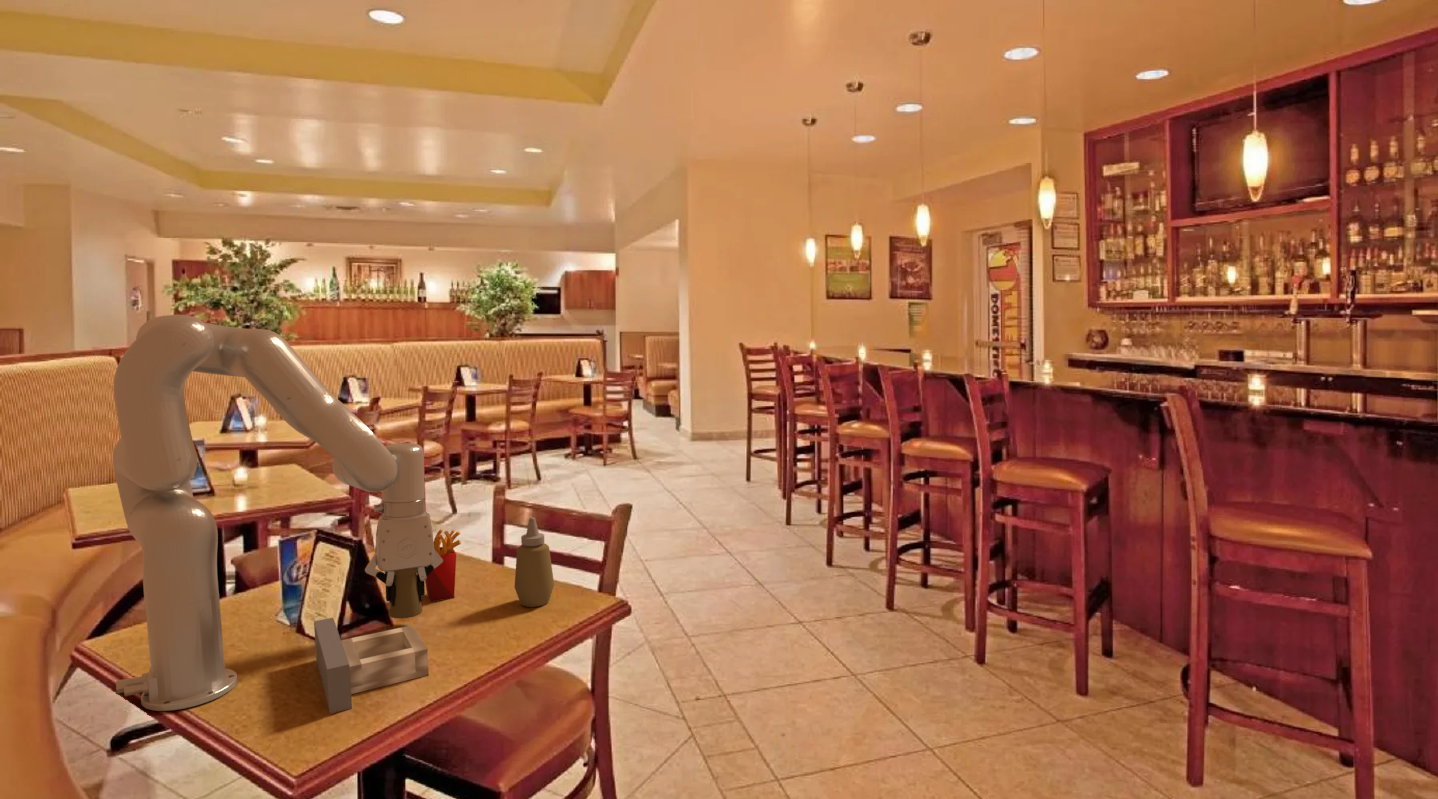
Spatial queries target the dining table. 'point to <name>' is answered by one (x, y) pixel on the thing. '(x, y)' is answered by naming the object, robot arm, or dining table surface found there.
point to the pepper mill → (406, 594)
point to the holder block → (385, 658)
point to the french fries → (443, 568)
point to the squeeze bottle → (533, 568)
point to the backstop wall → (332, 665)
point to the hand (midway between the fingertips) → (405, 600)
